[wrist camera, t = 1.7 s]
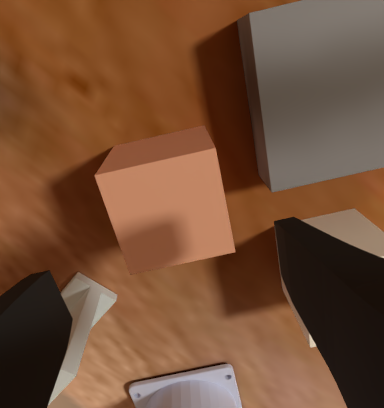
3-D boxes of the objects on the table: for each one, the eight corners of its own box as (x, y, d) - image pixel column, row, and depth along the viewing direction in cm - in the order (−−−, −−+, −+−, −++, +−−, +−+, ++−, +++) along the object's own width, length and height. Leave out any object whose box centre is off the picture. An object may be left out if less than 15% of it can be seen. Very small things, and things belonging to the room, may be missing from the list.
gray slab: (392, 142, 19) (430, 156, 16) (257, 173, 19) (271, 192, 16) (399, -19, 16) (447, -35, 13) (235, 21, 16) (249, 13, 13)
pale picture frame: (117, 294, 22) (96, 385, 16) (60, 357, 24) (22, 459, 18) (77, 271, 21) (39, 358, 15) (22, 338, 23) (-32, 439, 17)
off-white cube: (354, 273, 22) (402, 328, 18) (282, 288, 22) (310, 347, 18) (353, 207, 20) (407, 251, 16) (273, 225, 20) (303, 273, 16)
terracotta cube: (220, 207, 20) (235, 252, 15) (139, 225, 20) (130, 274, 15) (204, 125, 18) (215, 147, 13) (114, 145, 18) (94, 175, 13)
